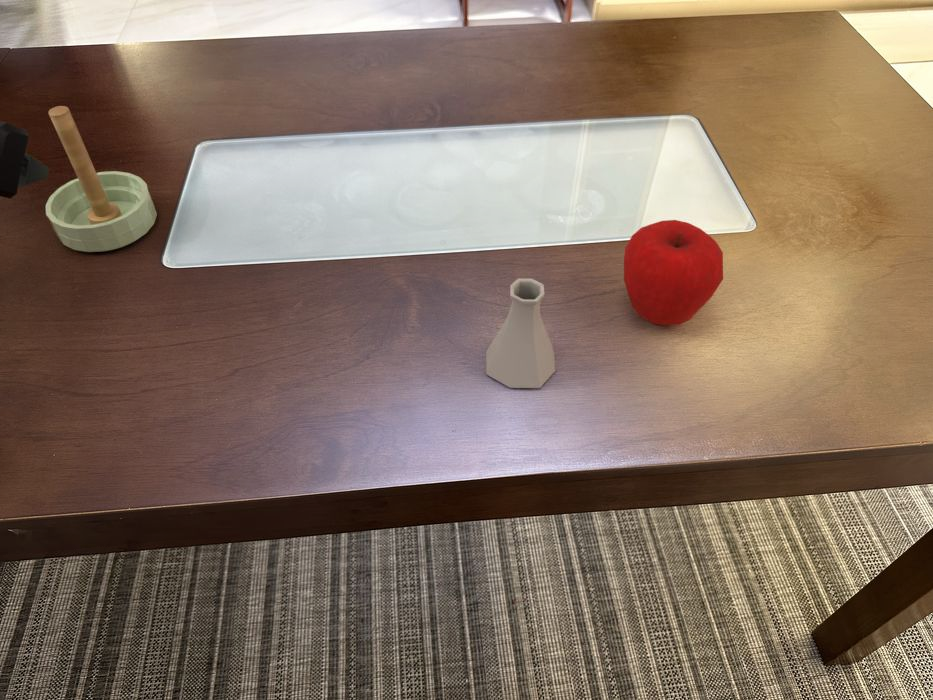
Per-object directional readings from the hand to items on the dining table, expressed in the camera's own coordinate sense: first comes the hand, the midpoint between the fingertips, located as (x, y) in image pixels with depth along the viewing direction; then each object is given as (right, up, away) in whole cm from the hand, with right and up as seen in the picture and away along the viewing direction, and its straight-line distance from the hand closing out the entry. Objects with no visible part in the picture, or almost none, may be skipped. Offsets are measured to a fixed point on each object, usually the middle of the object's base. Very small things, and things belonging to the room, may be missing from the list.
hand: (10, 164), depth 72 cm
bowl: (+3, -4, +15) cm, 15 cm away
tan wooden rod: (+3, -3, +14) cm, 15 cm away
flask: (+51, -20, +1) cm, 55 cm away
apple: (+66, -15, +6) cm, 68 cm away
